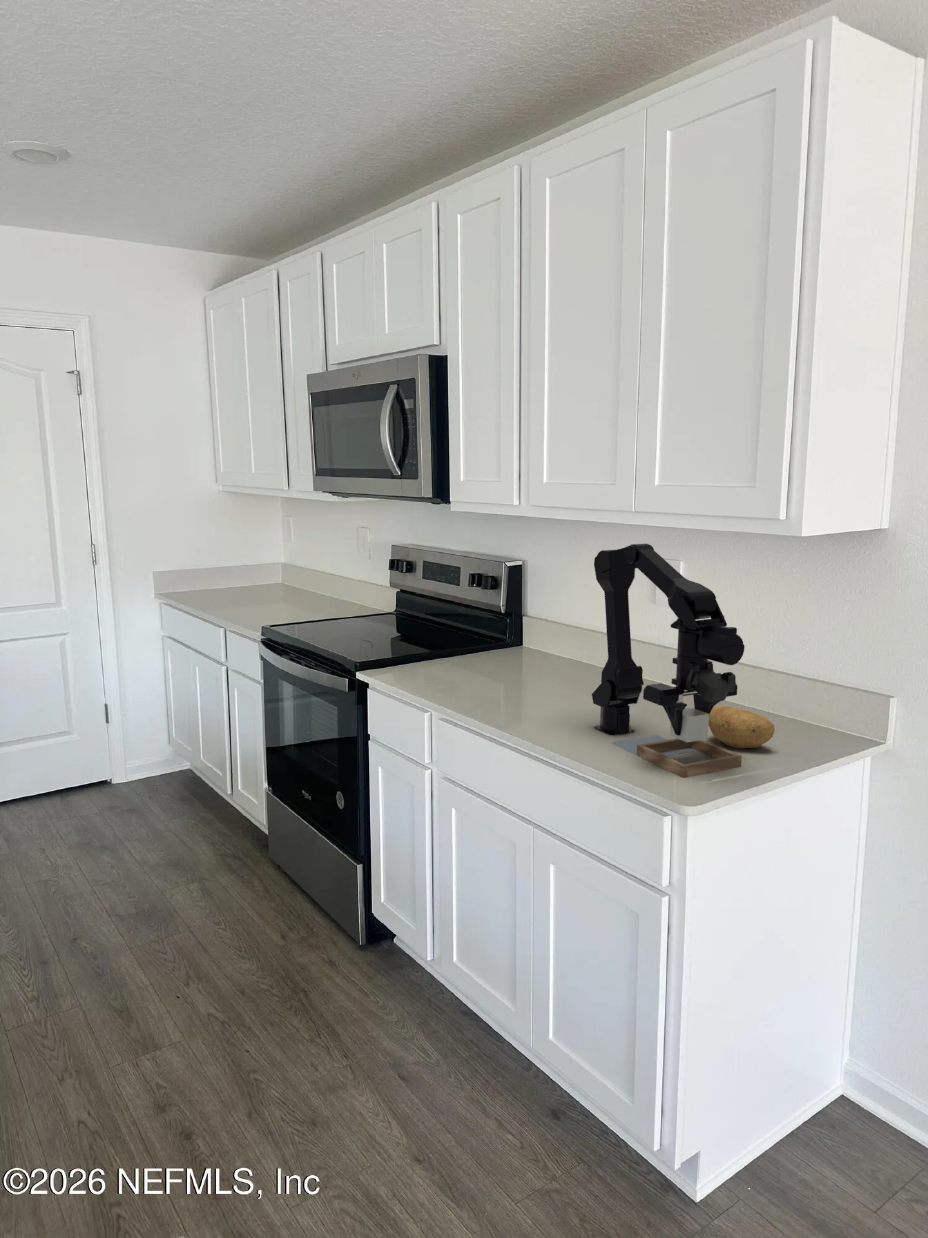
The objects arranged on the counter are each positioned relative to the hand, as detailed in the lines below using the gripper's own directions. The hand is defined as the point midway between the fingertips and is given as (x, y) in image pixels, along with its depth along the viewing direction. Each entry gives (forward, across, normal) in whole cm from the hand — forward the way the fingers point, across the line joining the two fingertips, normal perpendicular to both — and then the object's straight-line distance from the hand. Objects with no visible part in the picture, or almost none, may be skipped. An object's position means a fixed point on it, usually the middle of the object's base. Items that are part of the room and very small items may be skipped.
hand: (688, 733), depth 168 cm
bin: (+6, 0, 0) cm, 6 cm away
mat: (+6, -1, +10) cm, 12 cm away
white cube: (+1, 0, 0) cm, 1 cm away
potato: (+6, +16, +3) cm, 17 cm away
